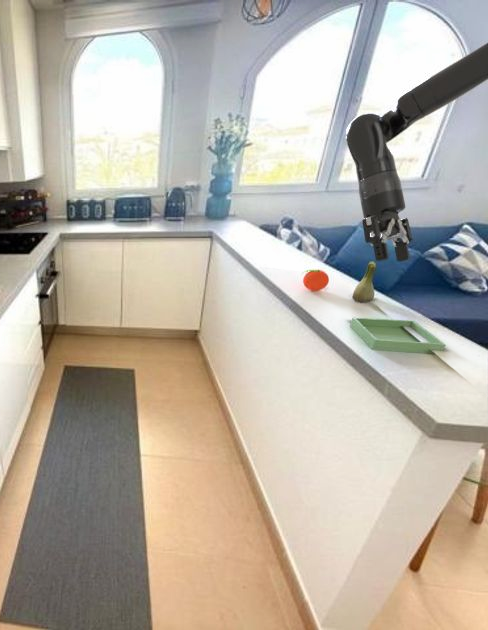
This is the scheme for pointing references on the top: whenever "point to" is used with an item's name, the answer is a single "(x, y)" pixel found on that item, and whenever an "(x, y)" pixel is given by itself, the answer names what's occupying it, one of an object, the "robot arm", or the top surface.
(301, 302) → the top surface
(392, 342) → the green tray
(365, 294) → the fennel bulb
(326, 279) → the tomato
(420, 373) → the top surface
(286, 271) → the top surface
